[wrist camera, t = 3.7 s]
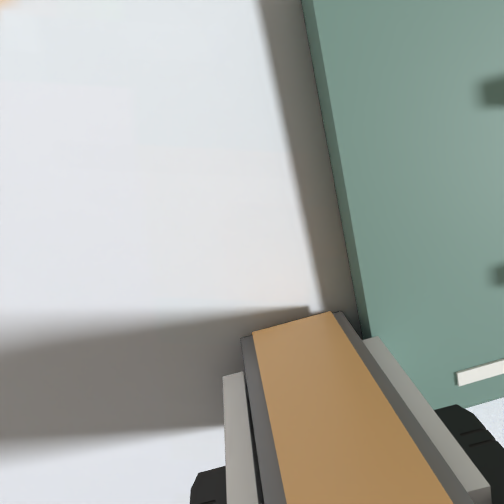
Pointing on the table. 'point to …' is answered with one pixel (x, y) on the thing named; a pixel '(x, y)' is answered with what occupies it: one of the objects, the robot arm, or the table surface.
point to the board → (420, 180)
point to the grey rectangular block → (336, 422)
